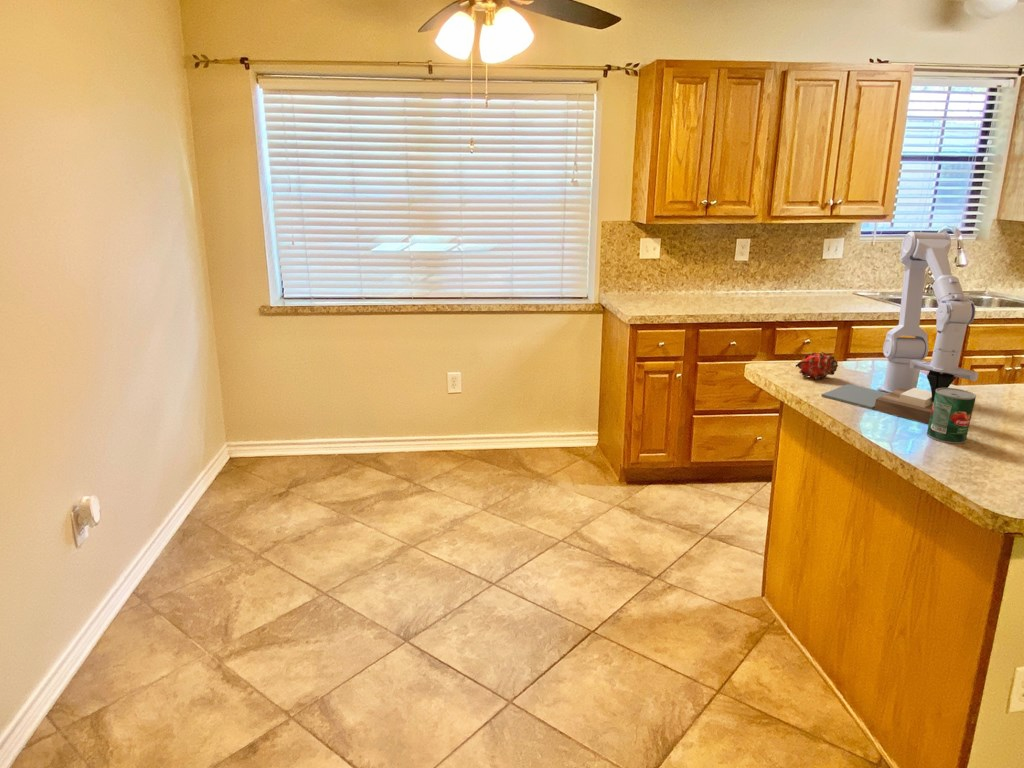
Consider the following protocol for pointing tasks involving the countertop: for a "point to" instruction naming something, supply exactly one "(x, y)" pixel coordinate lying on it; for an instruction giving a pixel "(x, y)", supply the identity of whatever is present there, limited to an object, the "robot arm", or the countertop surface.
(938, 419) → the canned tomato
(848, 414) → the countertop surface
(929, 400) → the cream rectangular slab
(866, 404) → the mat
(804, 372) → the dragon fruit
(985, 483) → the countertop surface
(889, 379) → the robot arm
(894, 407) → the brown wooden slab
